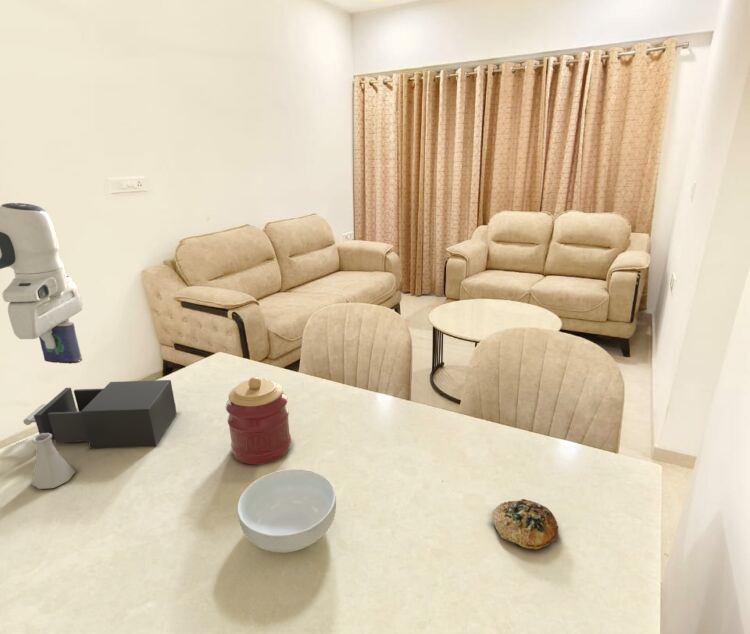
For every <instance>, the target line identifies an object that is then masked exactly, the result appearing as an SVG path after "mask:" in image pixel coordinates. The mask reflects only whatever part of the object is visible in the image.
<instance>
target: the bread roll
mask: <svg viewBox="0 0 750 634" xmlns="http://www.w3.org/2000/svg"><path fill="white" fill-rule="evenodd" d="M492 524H493V526H494V527H495V529H496V531H497V532H498V534H499V535H500V537H501V538H502V539H504V540H506V541H508V542H511V543H512V544H516V545H519V546H520V547H522V548H524V549H529V550H536V551H537V550H540V549H544V548H545V547H547V546H550V544H552V543H554V542H555V541H556V539H557V536H558V535H559V525H558V521H557V519H556V517H555V515H554V514H553V512H552V511H551V510H550V509H549V508H548V507H546V506H544V505H543V504H540V503H538V502H535V501H533V500H530V499H529V500H528V499H525V498H522V499H519V500H518V499H517V500H513V501H512V500H511V501H510V500H509V501H505V502H501V503H500V504H498V505H497V506H496V507H495V508H494V509H493V510H492Z"/></svg>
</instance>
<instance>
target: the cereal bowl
mask: <svg viewBox="0 0 750 634" xmlns="http://www.w3.org/2000/svg"><path fill="white" fill-rule="evenodd" d="M237 501H238V502H237V505H236V506H237V507H236V511H237V519H238V522H239V526H240V528H241V530H242V532H243V534H244V536H245V537H246V538H247V539H248V541H250V542H251V543H252V544H253V545H255V546H256V547H258V548H260V549H261V550H265V551H267V552H271V553H272V552H273V553H283V554H285V553H291V552H296V551H301V550H302V549H305V548H307V547H309V546H311V545H313V544H314V543H316V542H317V541H319V540H320V539H321V538H322V537H323V536H324V535H325V534H326V533H327V532H328V531H329V529H331V525H332V524H333V521H334V518H335V515H336V512H337V510H336V509H337V496H336V491H335V487H334V486H333V484H332V483H331V481H330V480H329V479H328V478H327V477H326V476H324V475H322V474H321V473H318V472H316V471H314V470H309V469H302V468H290V469H288V468H287V469H282V470H277V471H273V472H270V473H267V474H265V475H263V476H261V477H259V478H257V479H256V480H254V481H253V482H251V483H250V484H249V485H248V486H247V487H246V488H245V489H244V490H243V491H242V493H241V495H240V497H239V499H238V500H237Z"/></svg>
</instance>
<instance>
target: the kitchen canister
mask: <svg viewBox="0 0 750 634" xmlns="http://www.w3.org/2000/svg"><path fill="white" fill-rule="evenodd" d="M283 391H284V389H283V386H281V384H279V383H278V382H275V381H272V380H270V379H266V378H259V376H252V377H250V378H249V379H248V380H245V381H243V382H240V383H239V384H238V385H236V386H235V387H233V388H232V389H231V390H230V391H229V393H228V400H227V401H226V403H225V410H226V412H227V413H228V417H227V424H228V429H229V434H230V447H231V452H232V453H233V456H234V459H236V460H237V461H239V462H240V463H243V464H247V465H257V466H258V465H265V464H269V463H273V462H275V461H277V460H280V459H281V458H283V457H285V455H286V454H287V453H288V452H289V450H290V448H291V443H292V438H291V437H292V435H291V432H290V423H289V415H290V412H289V409H288V407H286V406H287V404H288V396H287V395H286V393H284V392H283Z"/></svg>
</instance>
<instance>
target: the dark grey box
mask: <svg viewBox="0 0 750 634" xmlns="http://www.w3.org/2000/svg"><path fill="white" fill-rule="evenodd" d="M102 389H103V390H102V391H101V392H100V393H99V394H98V395H97V396H96V397H95V398H94V399H93V400H92V401H91V402H90V403H89V404H88V405H87V406H86V407H85V408H84V409H83V410H82V411H81V414H82V418H83V422H84V425H85V429H86V433H87V437H88V441H87V442H88V445H89V447H90V449H91V450H94V449H96V450H97V449H120V448H146V447H147V448H148V447H149V448H150V447H157V446H158V445H159V443H160V442H161V440H162V438H163V436H164V435H165V434H166V432H167V430H168V428H169V427H170V426H171V424H172V422H173V421H174V419H175V418H176V416H177V415H178V413H177V408H176V407H177V406H176V403H175V397H174V391H173V384H172V380H171V379H158V380H129V381H109V382H108V383H107V384H106V386H105V387H104V388H102Z"/></svg>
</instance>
